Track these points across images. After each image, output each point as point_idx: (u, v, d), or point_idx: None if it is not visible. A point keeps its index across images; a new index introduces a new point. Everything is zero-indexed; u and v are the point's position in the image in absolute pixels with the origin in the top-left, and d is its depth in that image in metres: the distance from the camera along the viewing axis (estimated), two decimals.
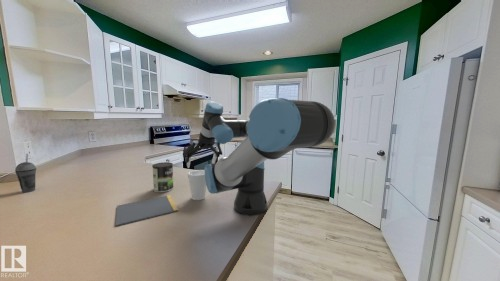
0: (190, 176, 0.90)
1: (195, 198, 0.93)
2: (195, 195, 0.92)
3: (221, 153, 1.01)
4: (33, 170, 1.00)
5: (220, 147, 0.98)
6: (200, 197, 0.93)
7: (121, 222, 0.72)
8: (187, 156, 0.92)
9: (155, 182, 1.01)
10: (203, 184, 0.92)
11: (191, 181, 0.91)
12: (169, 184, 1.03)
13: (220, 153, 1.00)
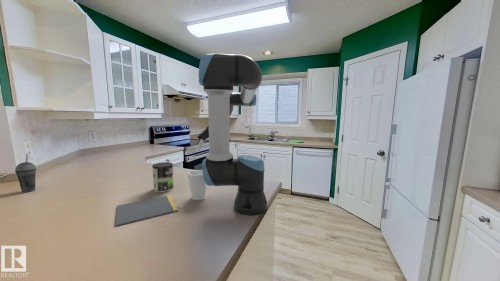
0: (190, 176, 0.90)
1: (195, 198, 0.93)
2: (195, 195, 0.92)
3: None
4: (33, 170, 1.00)
5: None
6: (200, 197, 0.93)
7: (121, 222, 0.72)
8: None
9: (155, 182, 1.01)
10: (203, 184, 0.92)
11: (191, 181, 0.91)
12: (169, 184, 1.03)
13: None
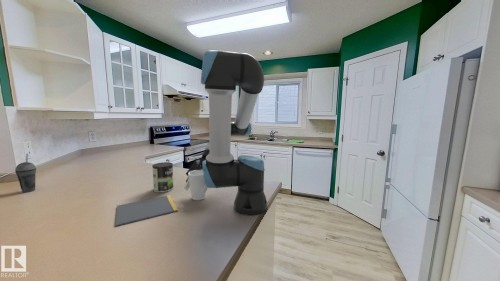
0: (190, 176, 0.90)
1: (195, 198, 0.93)
2: (195, 195, 0.92)
3: None
4: (33, 170, 1.00)
5: None
6: (200, 197, 0.93)
7: (121, 222, 0.72)
8: None
9: (155, 182, 1.01)
10: (203, 184, 0.92)
11: (191, 181, 0.91)
12: (169, 184, 1.03)
13: None
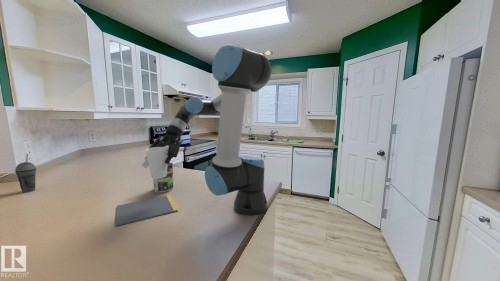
0: (146, 152, 0.83)
1: (153, 176, 0.85)
2: (153, 173, 0.85)
3: (173, 152, 0.85)
4: (33, 170, 1.00)
5: (177, 144, 0.88)
6: (159, 175, 0.85)
7: (121, 222, 0.72)
8: None
9: (155, 182, 1.01)
10: (161, 161, 0.84)
11: (148, 158, 0.83)
12: (169, 184, 1.03)
13: (172, 152, 0.85)
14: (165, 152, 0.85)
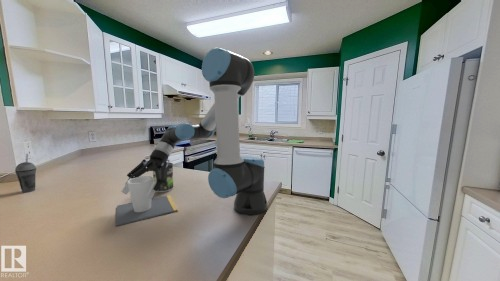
0: (128, 184, 0.77)
1: (136, 210, 0.79)
2: (136, 206, 0.79)
3: (162, 178, 0.80)
4: (33, 170, 1.00)
5: (164, 169, 0.83)
6: (142, 208, 0.79)
7: (121, 222, 0.72)
8: None
9: None
10: (145, 193, 0.79)
11: (130, 190, 0.77)
12: (169, 184, 1.03)
13: (161, 178, 0.80)
14: (149, 183, 0.80)
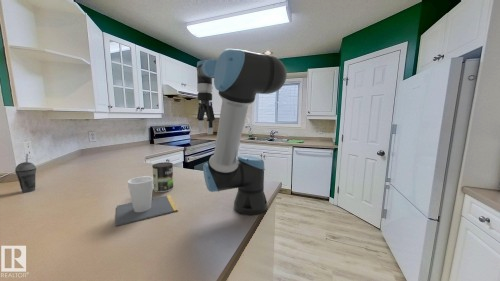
0: (129, 184, 0.77)
1: (136, 210, 0.79)
2: (136, 206, 0.79)
3: (209, 117, 0.93)
4: (33, 170, 1.00)
5: (208, 108, 0.93)
6: (142, 209, 0.79)
7: (121, 222, 0.72)
8: None
9: (155, 182, 1.01)
10: (145, 193, 0.79)
11: (130, 190, 0.77)
12: (169, 184, 1.03)
13: (209, 117, 0.93)
14: (149, 183, 0.80)
